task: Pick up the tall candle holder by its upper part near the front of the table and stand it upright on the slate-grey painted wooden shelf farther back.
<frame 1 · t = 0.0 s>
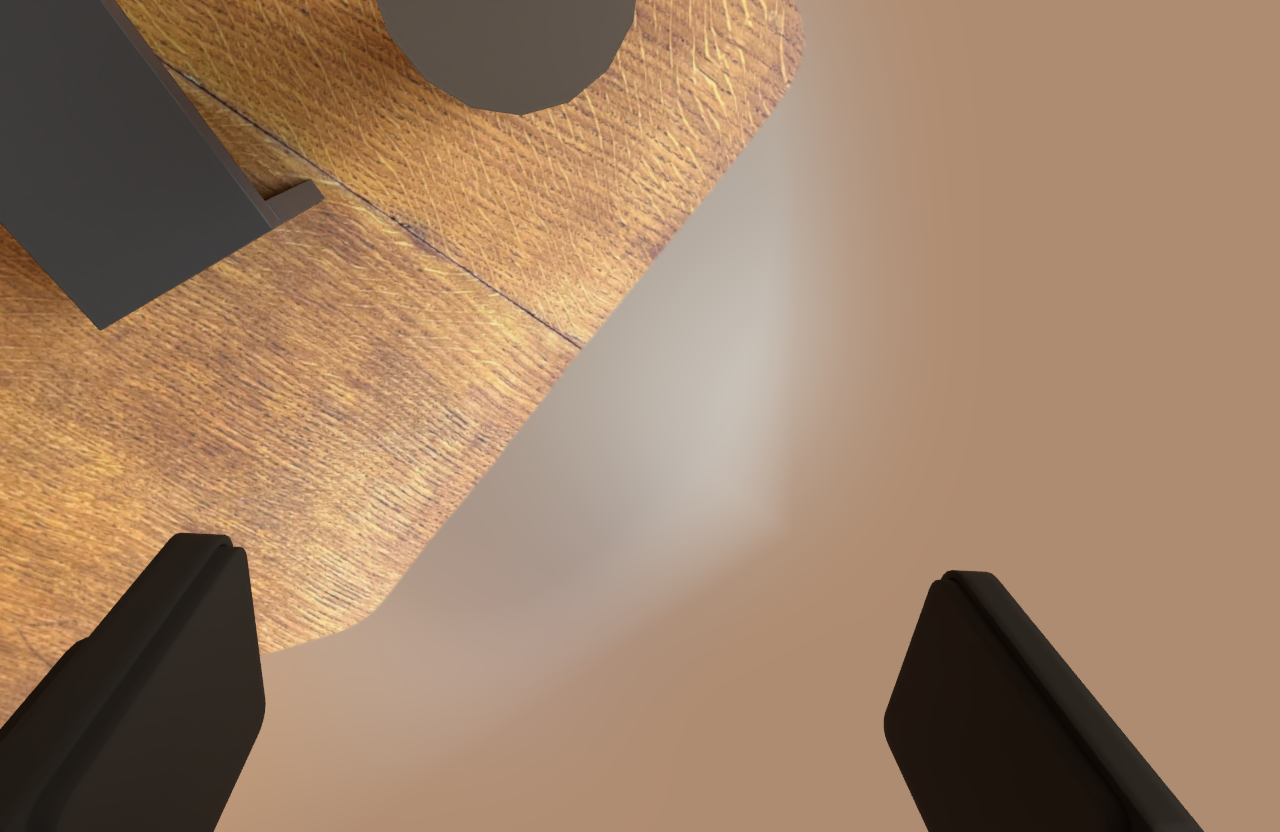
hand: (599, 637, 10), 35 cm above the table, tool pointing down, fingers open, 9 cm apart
candle holder: (543, 20, 38), on the table
shelf: (115, 66, 37), on the table
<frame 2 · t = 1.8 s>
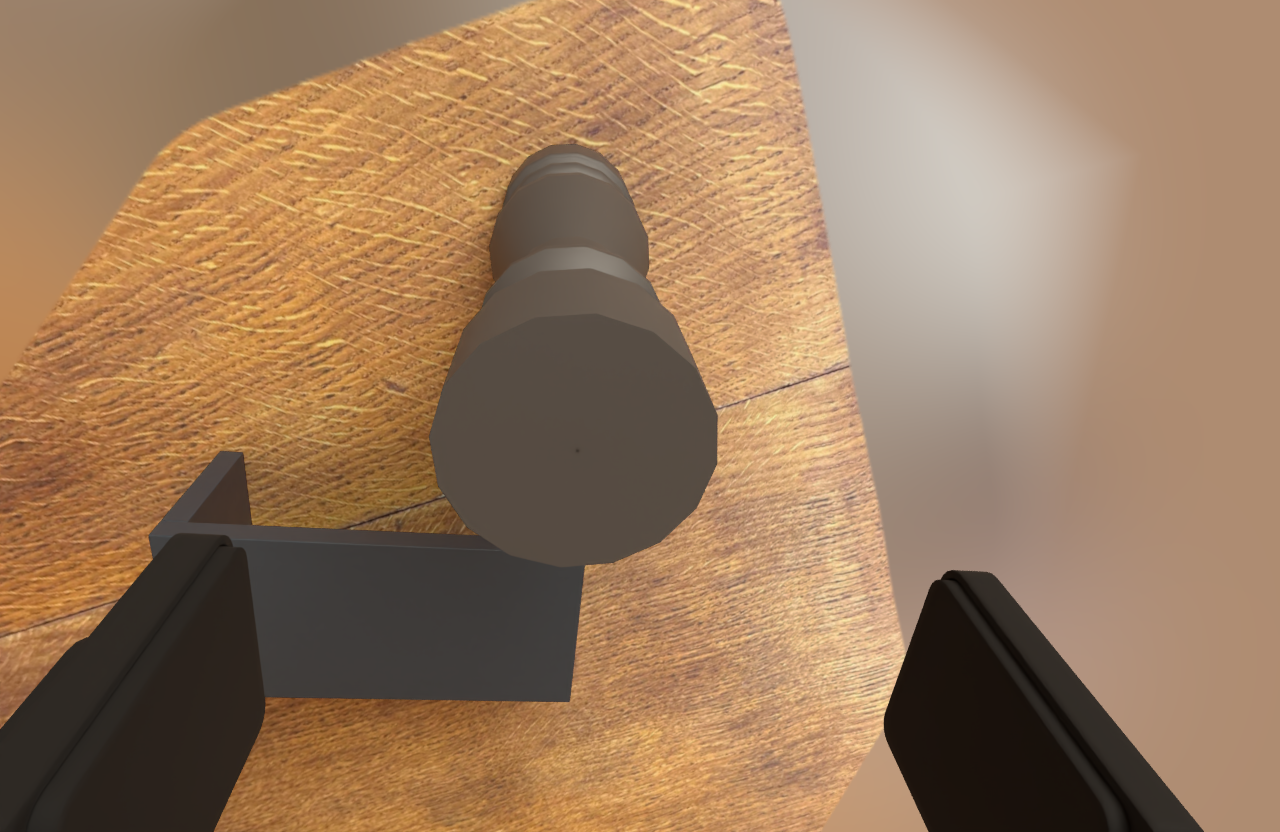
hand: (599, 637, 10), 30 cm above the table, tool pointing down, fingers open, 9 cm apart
candle holder: (568, 208, 37), on the table
shelf: (408, 534, 44), on the table
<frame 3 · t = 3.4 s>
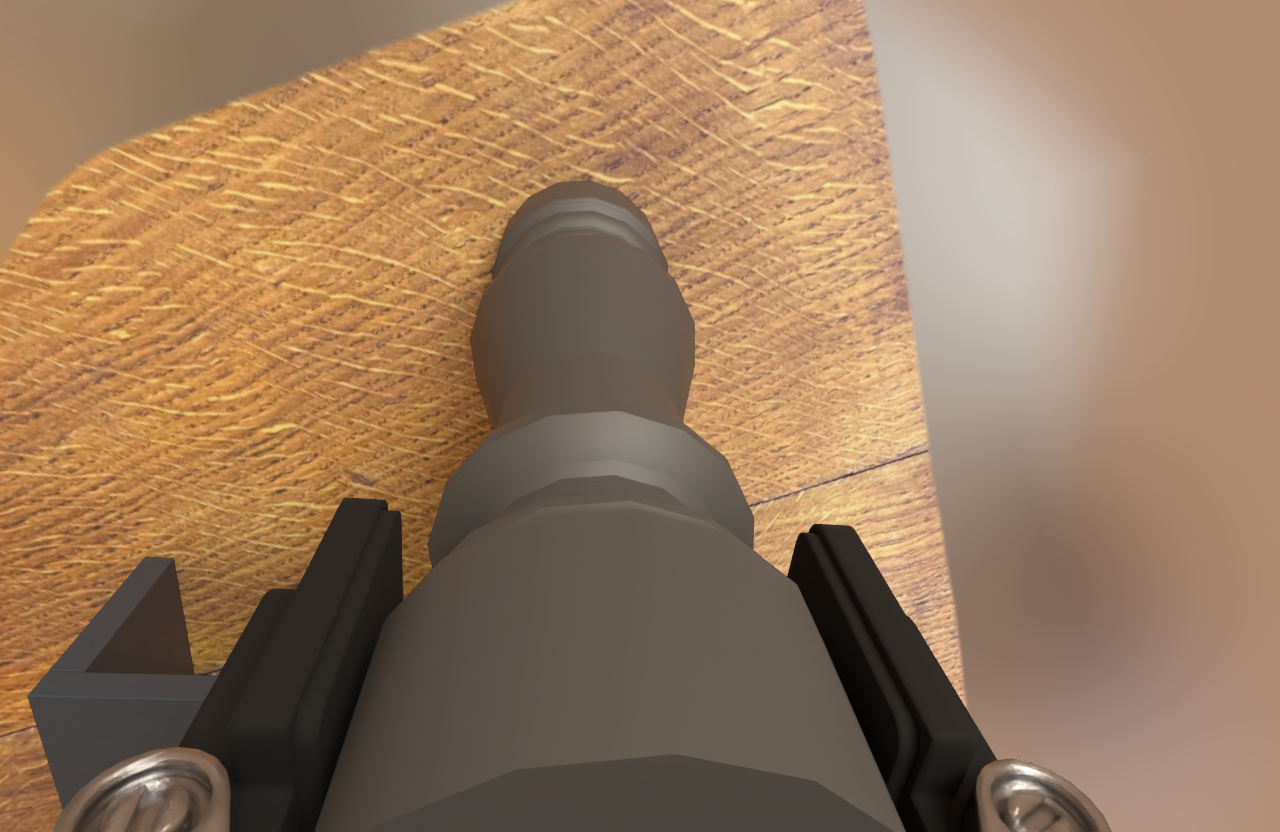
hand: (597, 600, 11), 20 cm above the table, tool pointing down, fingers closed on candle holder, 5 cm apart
candle holder: (580, 261, 29), on the table, touching gripper
shelf: (381, 649, 36), on the table
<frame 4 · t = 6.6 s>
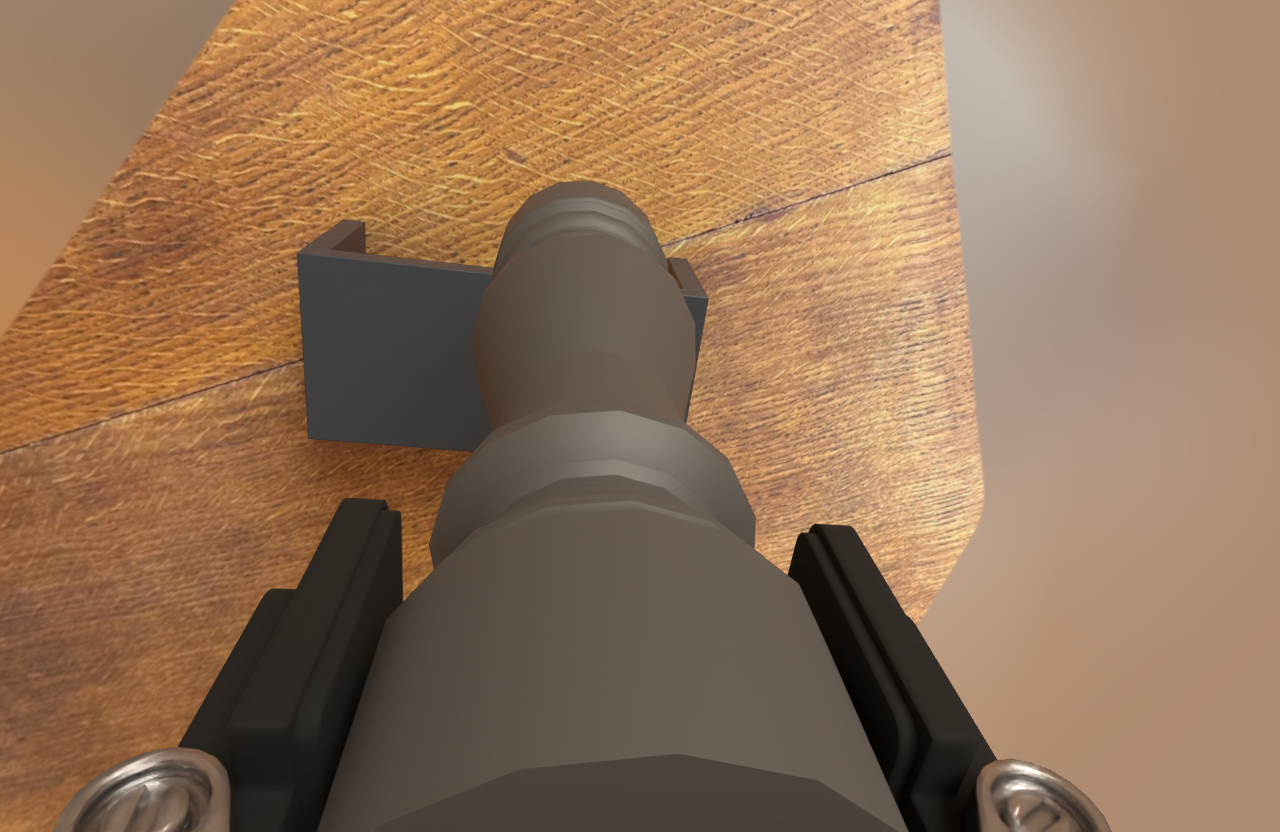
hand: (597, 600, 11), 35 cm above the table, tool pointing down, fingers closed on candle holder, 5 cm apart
candle holder: (580, 261, 29), point 15 cm above the table, touching gripper
shelf: (514, 320, 46), on the table
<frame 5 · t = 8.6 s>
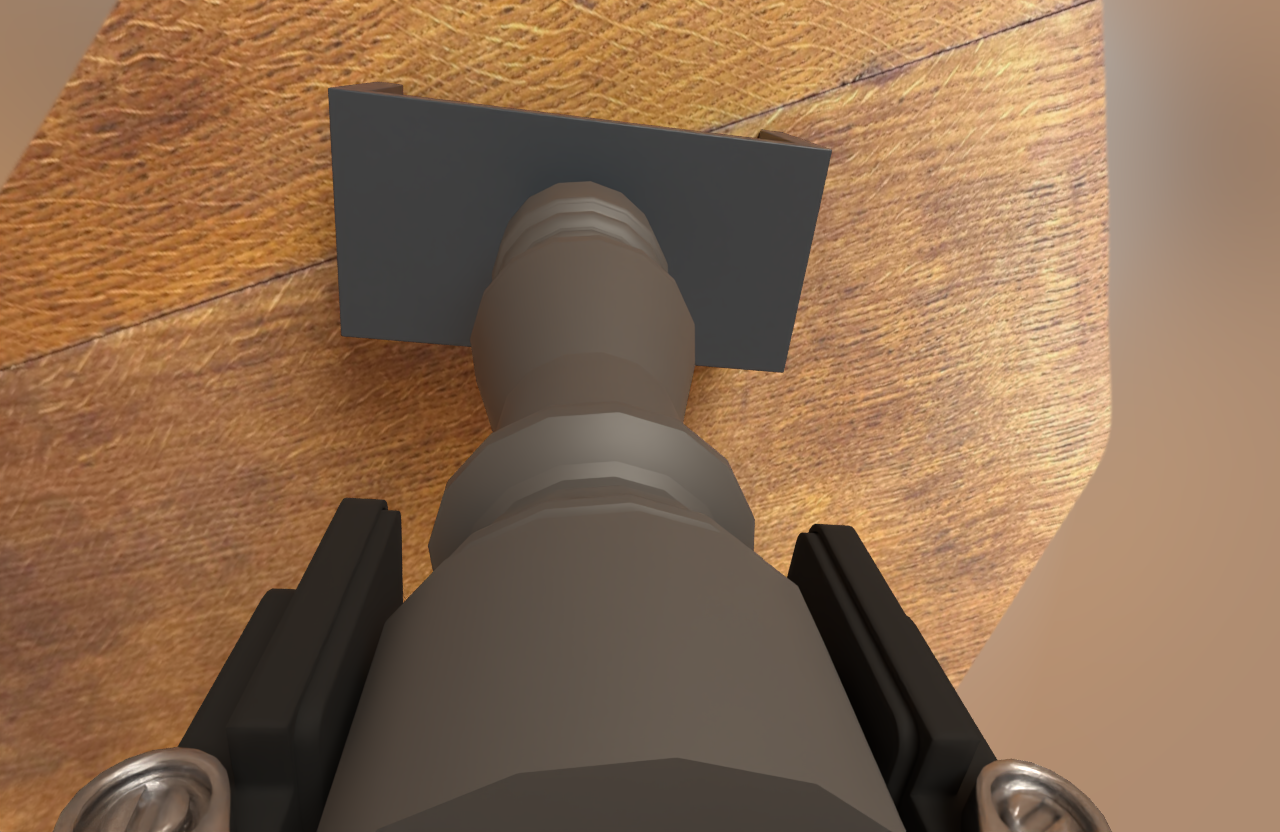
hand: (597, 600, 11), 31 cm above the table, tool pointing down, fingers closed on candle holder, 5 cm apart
candle holder: (580, 262, 29), point 11 cm above the table, touching gripper
shelf: (578, 210, 39), on the table
when the fingers open (28 cm above the table, at t = 9.9 s): candle holder stays where it is, resting on shelf.
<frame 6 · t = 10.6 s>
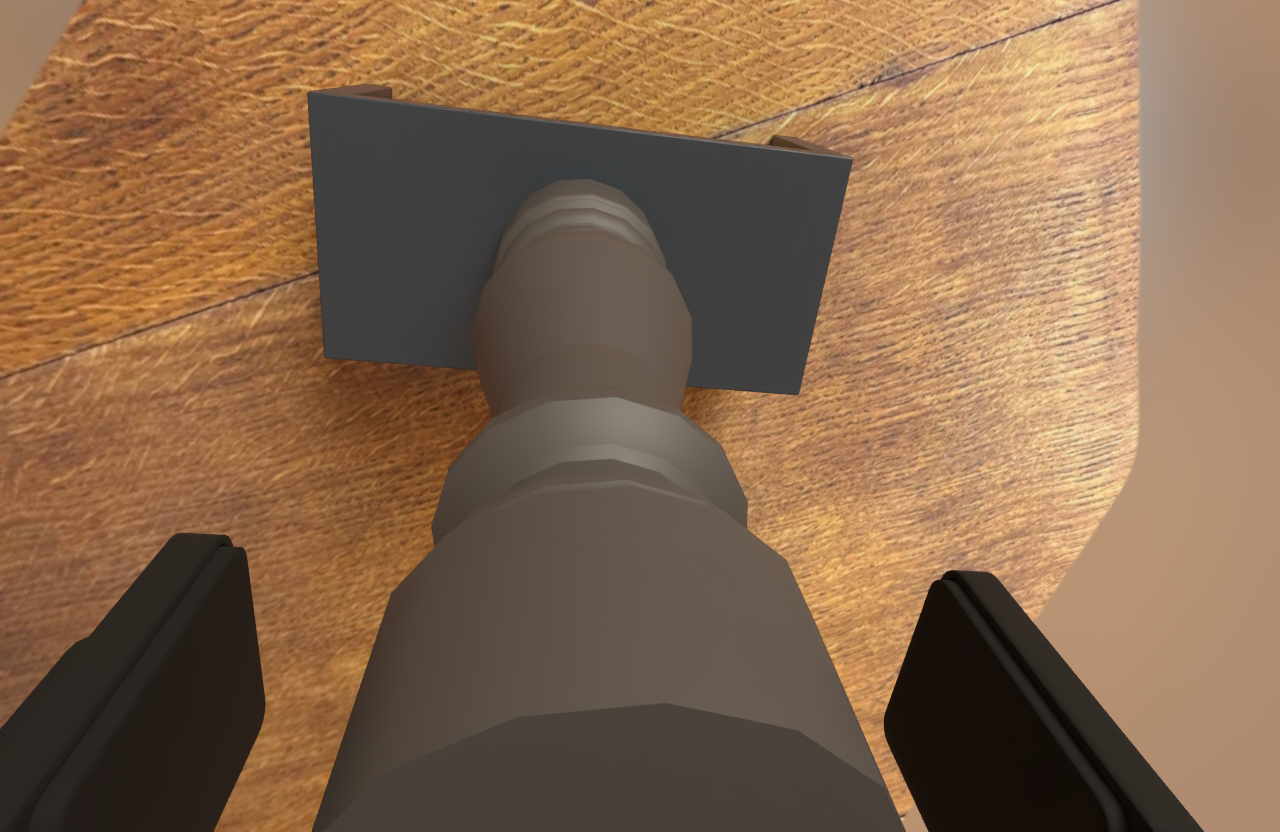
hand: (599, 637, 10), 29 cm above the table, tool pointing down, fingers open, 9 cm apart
candle holder: (579, 258, 29), point 8 cm above the table, touching shelf
shelf: (579, 220, 36), on the table
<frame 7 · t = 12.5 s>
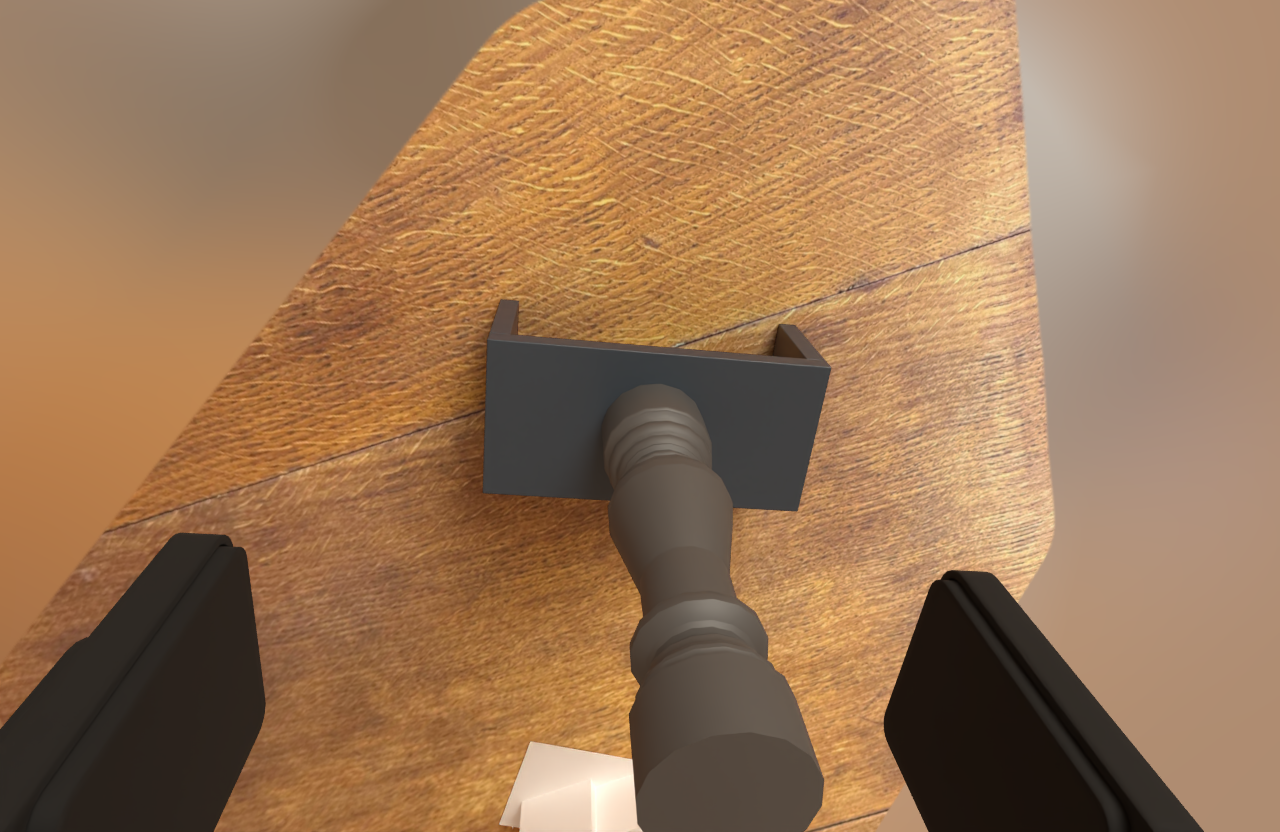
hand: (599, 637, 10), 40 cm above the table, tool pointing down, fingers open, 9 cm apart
napkin holder: (592, 795, 69), on the table
candle holder: (652, 429, 45), point 8 cm above the table, touching shelf
shelf: (643, 381, 52), on the table
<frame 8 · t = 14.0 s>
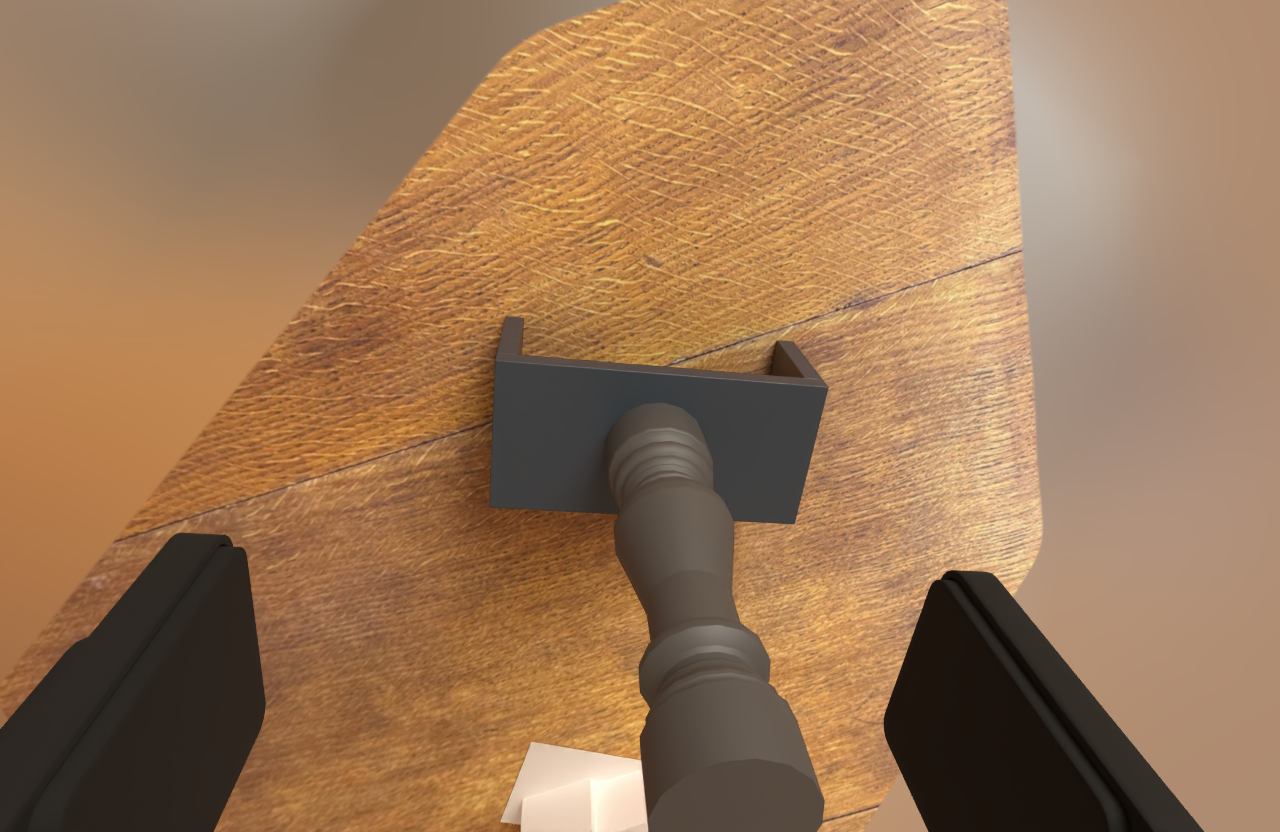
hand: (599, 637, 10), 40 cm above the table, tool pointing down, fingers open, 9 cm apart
napkin holder: (591, 793, 71), on the table
candle holder: (654, 446, 46), point 8 cm above the table, touching shelf
shelf: (644, 395, 53), on the table
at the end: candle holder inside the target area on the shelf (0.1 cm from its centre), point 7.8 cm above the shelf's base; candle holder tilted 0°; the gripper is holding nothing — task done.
